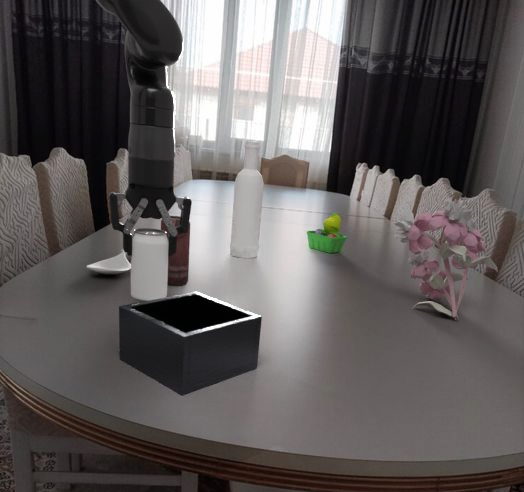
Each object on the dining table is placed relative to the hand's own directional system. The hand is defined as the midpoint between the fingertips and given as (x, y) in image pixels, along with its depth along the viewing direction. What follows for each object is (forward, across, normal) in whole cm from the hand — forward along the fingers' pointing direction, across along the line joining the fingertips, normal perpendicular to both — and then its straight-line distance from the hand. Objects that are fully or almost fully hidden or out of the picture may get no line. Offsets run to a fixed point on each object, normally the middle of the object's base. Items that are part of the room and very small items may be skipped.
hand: (149, 255), depth 92 cm
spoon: (+10, +2, -34) cm, 36 cm away
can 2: (+10, -7, -18) cm, 22 cm away
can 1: (+8, 0, 0) cm, 8 cm away
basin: (+10, -3, +25) cm, 27 cm away
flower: (+9, -62, -1) cm, 63 cm away
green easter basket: (+9, -61, -57) cm, 84 cm away
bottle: (+10, -31, -47) cm, 57 cm away
